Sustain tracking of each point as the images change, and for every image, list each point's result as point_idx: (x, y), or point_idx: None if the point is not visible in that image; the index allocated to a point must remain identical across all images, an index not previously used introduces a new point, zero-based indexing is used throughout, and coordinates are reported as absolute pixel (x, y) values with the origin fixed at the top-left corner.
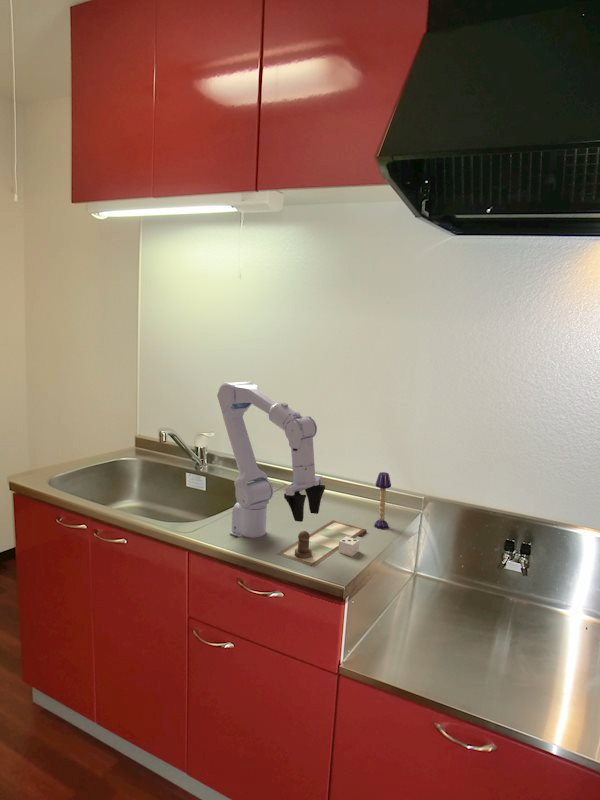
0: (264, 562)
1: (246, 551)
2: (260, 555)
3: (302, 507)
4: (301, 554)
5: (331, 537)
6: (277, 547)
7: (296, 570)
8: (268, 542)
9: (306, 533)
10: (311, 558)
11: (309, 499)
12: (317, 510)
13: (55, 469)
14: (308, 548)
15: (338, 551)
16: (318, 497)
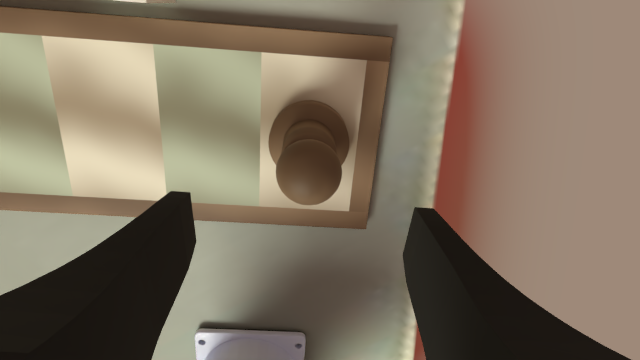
0: None
1: (382, 318)
2: (384, 270)
3: (487, 281)
4: (345, 134)
5: (45, 115)
6: (287, 257)
7: (432, 99)
8: (270, 301)
9: (315, 165)
10: (321, 88)
11: (152, 338)
12: (180, 205)
13: None
14: (304, 125)
15: (168, 2)
16: (119, 284)
